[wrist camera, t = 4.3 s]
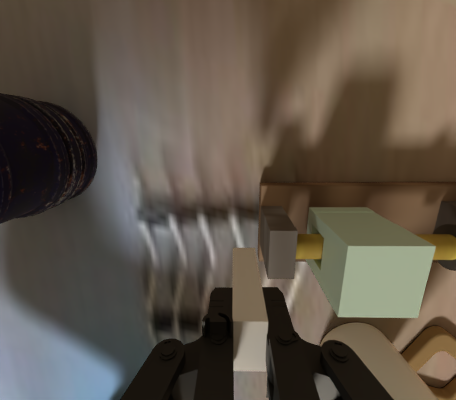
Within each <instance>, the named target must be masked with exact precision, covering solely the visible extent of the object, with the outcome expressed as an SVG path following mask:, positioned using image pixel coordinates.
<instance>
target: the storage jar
mask: <svg viewBox="0 0 456 400" xmlns="http://www.w3.org/2000/svg"><path fill="white" fill-rule="evenodd" d="M96 168H97V154H96V149H95V145H94V142H93V140H92V137H91V135H90V134H89V132H88V130H87V129H86V127H85V126H84V125H83V124H82V122H81V121H80V120H79V119H78V118H77V117H76V116H74V115H73V114H72V113H70V112H69V111H68V110H66V109H64V108H62V107H60V106H58V105H55V104H52V103H47V102H42V101H35V100H32V99H29V98H25V97H20V96H14V95H7V94H1V93H0V224H1V223H3V222H6V221H8V220H11V219H14V218H22V217H27V216H33V215H36V214H39V213H42V212H44V211H45V210H47V209H50V208H52V207H55V206H57V205H59V204H61V203H63V202H64V201H66V200H68V199H71V198H73V197H75V196H77V195H79V194H81V193H82V192H83V191H85V190H86V189H87V188H88V187H89V185H90V184H91V182H92V181H93V178H94V176H95V173H96Z"/></svg>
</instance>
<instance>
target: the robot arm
mask: <svg viewBox="0 0 456 400" xmlns="http://www.w3.org/2000/svg"><path fill="white" fill-rule="evenodd" d="M202 333H203V336H201V337H200V338H199V339H198V340H196V341H194V342H192V343H188V344H185V345H183V344H182V342H181V341H179V340H177V339H166V340H163V341H161V342H160V343H158V344H157V345H156V346H155V347H154V349H153V350H152V352H151V353H150V355H149V356H148V358H147V359H146V361H145V362H144V364H143V366H142V367H141V369H140V370H139V372H138V373H137V375H136V376H135V378H134V379H133V381H132V383H131V384H130V386H129V387H128V389H127V390H126V392H125V393H124V395H123V396H122V398H121V400H234V377H233V371H266V367H267V375H268V376H267V396H266V398H269V400H394V399H393V398H392V397H391V396H390V394H389V393H388V392H387V391H386V390H385V388H384V387H383V386H382V385H381V383H380V382H379V381H378V380H377V379H376V377H375V376H374V375H373V374H372V372H371V371H370V370H369V369H368V368H367V366H366V365H365V364H364V363H363V362H362V360H361V359H360V358H359V357H358V355H357V354H356V353H355V352H354V351H353V350H352V349H351V348H350V347H349V346H348V345H346V344H345V343H343V342H341V341H337V340H328V341H325V342H324V343H323V344H322V346H318V345H314V344H311V343H309V342H306V341H304V340H303V339H301V338H300V337H299V335H298V333H297V332H295V331H294V328H293V325H292V322H291V318H290V315H289V312H288V309H287V305H286V302H285V299H284V296H283V293H282V292H281V291H280V290H279V289H278V288H277V287H262V285H261V279H260V274H259V268H258V263H257V257H256V252H255V248H233V288H215V289H214V290H213V291H212V293H211V296H210V303H209V310H208V314H207V315H206V316H205V317H204V318H203V320H202Z"/></svg>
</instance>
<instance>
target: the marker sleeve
mask: <svg viewBox="0 0 456 400" xmlns="http://www.w3.org/2000/svg"><path fill="white" fill-rule="evenodd" d="M307 234H321V235H322V237H323V238H324V243H323V252H322V259H305V260H306V262H307V263H308V265H309V266H310V268H311V270H312V272H313V273H314V275H315V277H316V279H317V280H318V282H319V285H320V286H321V288H322V290H323V292H324V293H325V295H326V297H327V299H328V301H329V302H330V304H331V306H332V308H333V309H334V311H335V313H336V315H337V316H338V317H369V318H418V315H419V311H420V307H421V303H422V299H423V295H424V291H425V287H426V283H427V280H428V276H429V272H430V268H431V264H432V260H433V256H434V252H435V248H436V246H435V245H433V244H431V243H429V242H427V241H426V240H424V239H422V238H420V237H419V236H417V235H415V234H413V233H411V232H410V231H408V230H406V229H404V228H403V227H401V226H399V225H397V224H394V223H392V222H391V221H389V220H387V219H385V218H384V217H382V216H380V215H378V214H377V213H375V212H374V211H372V210H371V209H369V208H367V207H309V214H308V225H307Z"/></svg>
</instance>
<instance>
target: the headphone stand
mask: <svg viewBox="0 0 456 400" xmlns="http://www.w3.org/2000/svg"><path fill="white" fill-rule="evenodd" d="M439 351H446V352H447V353H449V354H450V355H451V356H453V357H454V358H455V359H456V338H455V337H453V336H452V335H451V334H450V333H448V332H447V331H446V330H444V329H443V328H442V327H439V326H431V327H428V328H427V329H425V330H424V331H423V332H422V333H421V334H420V335H419V336H418V338H417V339H416V340H415V341H414V342H413V343H412V344H411V345H410V346H409V347H408V348H407V349H406V350H405V351H404V352H403V353H402V354H401V355H402V356H403V357H404V359H405V360H406V361H407V362H408V363H409V365H410V366H411V367H412V368H413V369H414V371H415V372H417V371H418V370H419V369H420V368H421V367H422V366H423V365H424V364H425V363H426V362H427V361H428V360H429V359H430V358H431V357H432V356H433V355H434V354H435V353H437V352H439ZM427 386H428V385H427ZM428 387H429V389H430V390H431V391H432V392H433V393H434V395H435V396H436V397H437V398H438V399H439V400H456V377H455V378H454V379H453V380H452V381H451V382H450V383H448V384H447V385H446V386H445V387H443V388H435V387H432V386H428Z"/></svg>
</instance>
